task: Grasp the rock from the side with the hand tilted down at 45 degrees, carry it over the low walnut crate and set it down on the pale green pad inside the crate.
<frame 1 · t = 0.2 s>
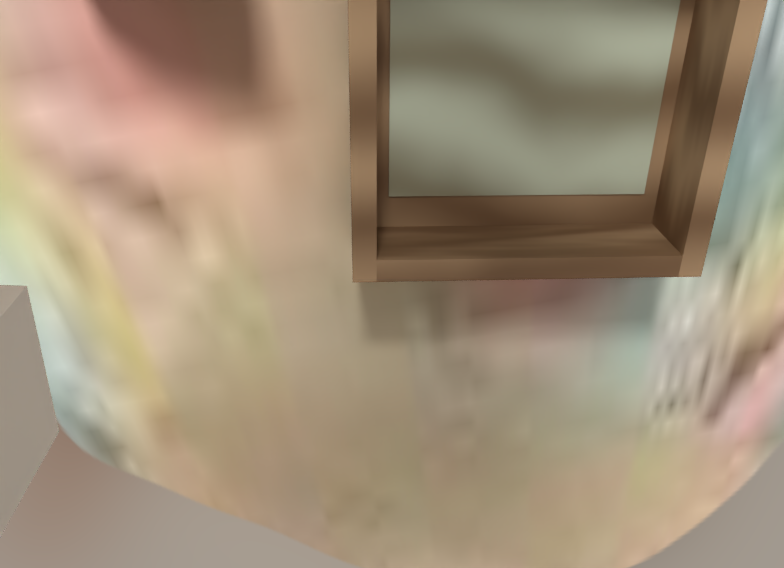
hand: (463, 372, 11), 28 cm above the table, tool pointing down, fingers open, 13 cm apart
crate: (524, 78, 37), on the table
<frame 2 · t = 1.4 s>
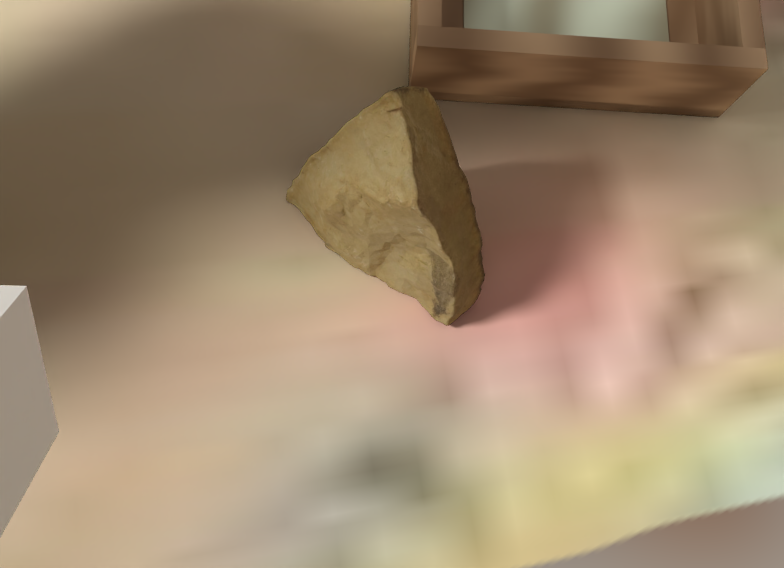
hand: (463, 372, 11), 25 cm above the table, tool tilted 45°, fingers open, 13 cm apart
rock: (384, 250, 38), on the table
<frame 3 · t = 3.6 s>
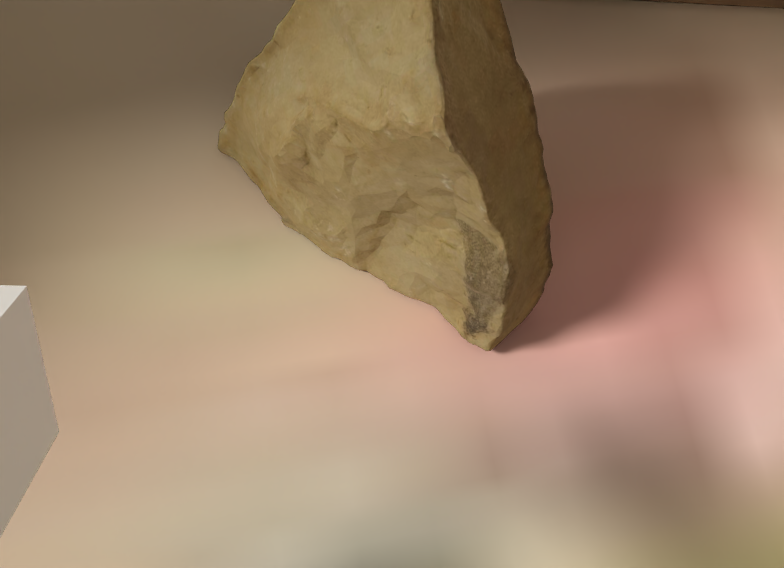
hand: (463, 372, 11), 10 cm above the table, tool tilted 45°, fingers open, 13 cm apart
rock: (381, 228, 23), on the table
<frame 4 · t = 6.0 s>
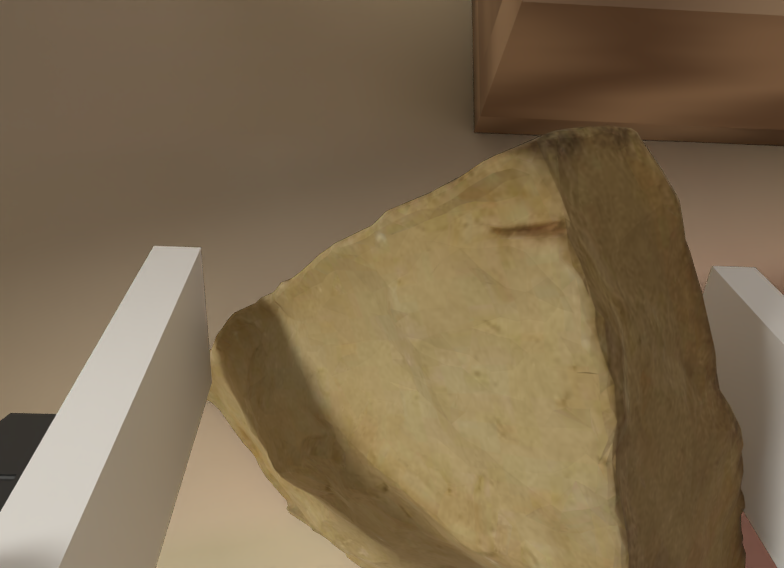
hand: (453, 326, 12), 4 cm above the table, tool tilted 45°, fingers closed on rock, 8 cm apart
rock: (436, 510, 15), on the table, touching gripper
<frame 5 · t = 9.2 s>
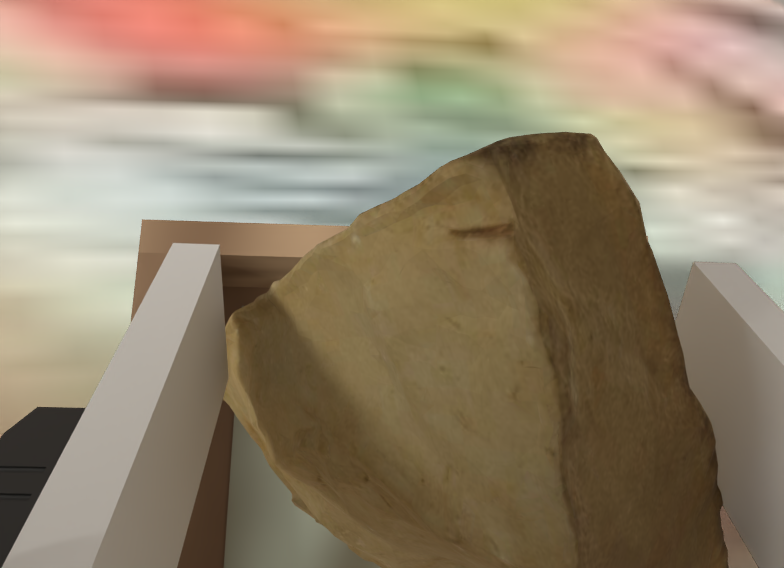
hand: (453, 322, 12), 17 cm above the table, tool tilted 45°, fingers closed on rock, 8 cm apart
rock: (436, 504, 16), point 12 cm above the table, touching gripper
crate: (388, 489, 28), on the table
when the fingers open (6 cm above the table, at t = 11.6 s): rock stays where it is, resting on crate.
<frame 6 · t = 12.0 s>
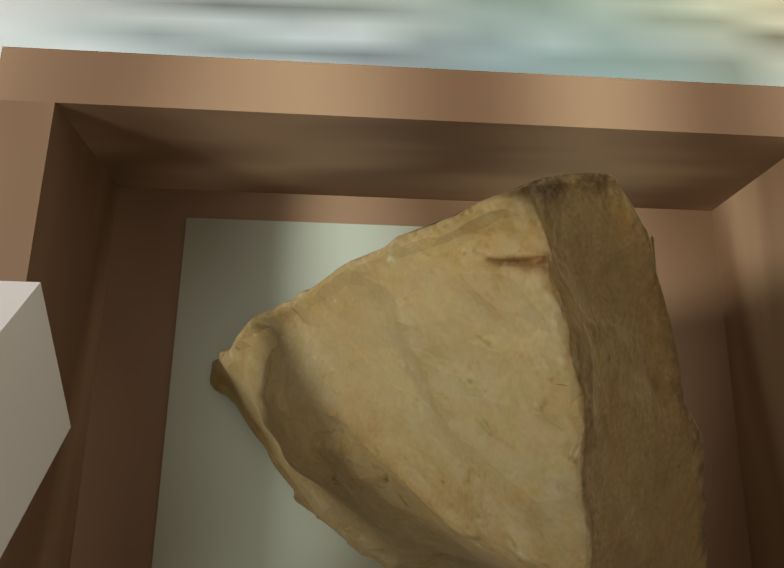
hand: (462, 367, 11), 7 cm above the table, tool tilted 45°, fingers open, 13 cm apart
rock: (430, 503, 17), point 1 cm above the table, touching crate
crate: (417, 510, 17), on the table
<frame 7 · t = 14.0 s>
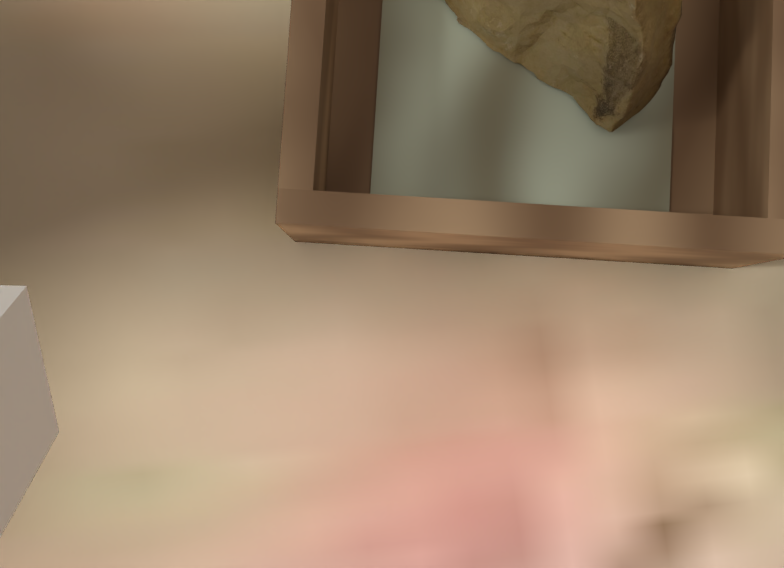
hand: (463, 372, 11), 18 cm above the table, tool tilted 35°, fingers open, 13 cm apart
rock: (533, 31, 29), point 1 cm above the table, touching crate
crate: (524, 42, 30), on the table
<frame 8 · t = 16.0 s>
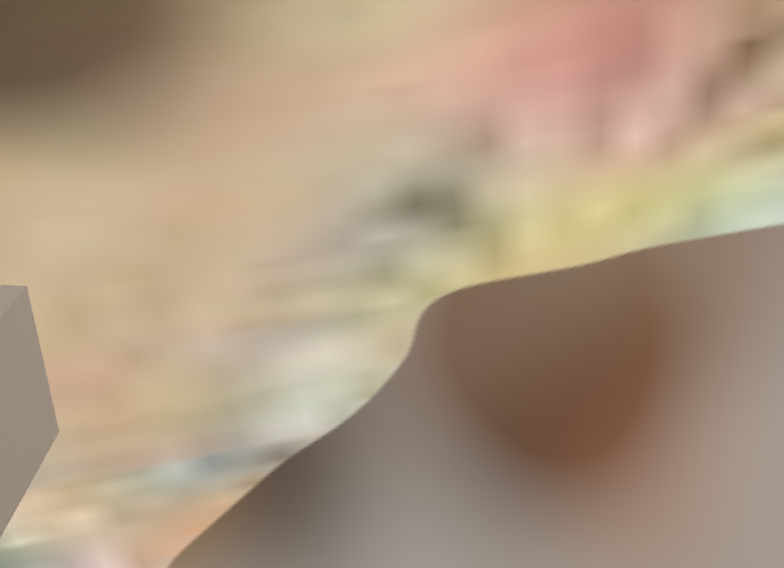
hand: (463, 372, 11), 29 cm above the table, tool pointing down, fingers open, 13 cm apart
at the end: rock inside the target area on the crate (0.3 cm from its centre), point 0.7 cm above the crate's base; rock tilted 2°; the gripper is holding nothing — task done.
